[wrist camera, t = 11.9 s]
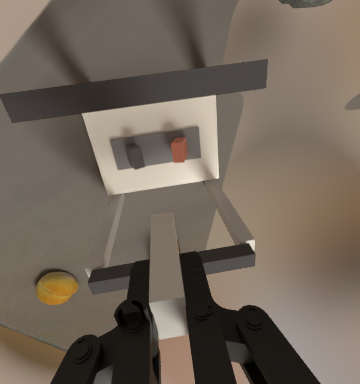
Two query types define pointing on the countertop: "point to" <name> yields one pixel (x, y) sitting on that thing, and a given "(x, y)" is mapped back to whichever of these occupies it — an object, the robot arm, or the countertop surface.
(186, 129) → the white grey open frame
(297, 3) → the mortar and pestle
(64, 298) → the bread roll
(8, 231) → the countertop surface
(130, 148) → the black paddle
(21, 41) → the countertop surface
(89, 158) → the countertop surface
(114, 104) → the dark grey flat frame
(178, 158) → the terracotta block
